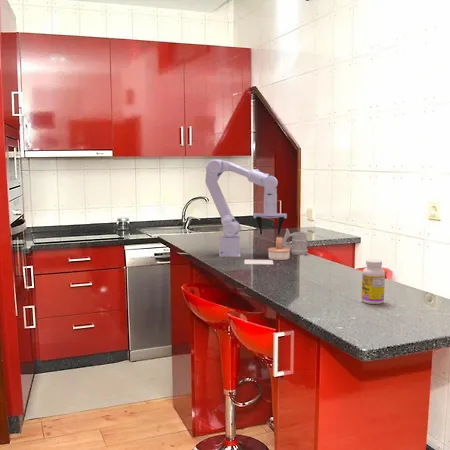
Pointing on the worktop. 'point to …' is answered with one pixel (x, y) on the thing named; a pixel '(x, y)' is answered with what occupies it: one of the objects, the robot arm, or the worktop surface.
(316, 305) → the worktop surface
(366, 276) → the supplement bottle
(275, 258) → the bowl
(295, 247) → the mug
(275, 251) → the lid
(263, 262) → the mat
